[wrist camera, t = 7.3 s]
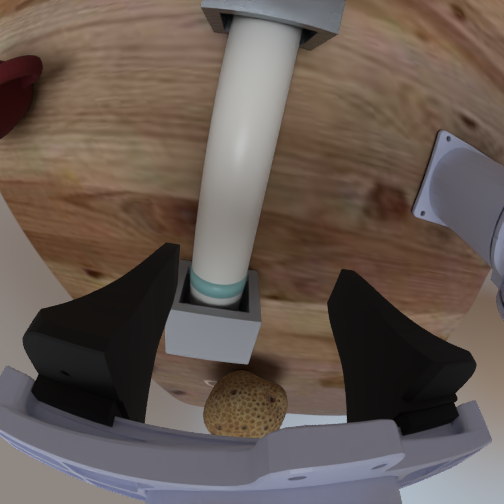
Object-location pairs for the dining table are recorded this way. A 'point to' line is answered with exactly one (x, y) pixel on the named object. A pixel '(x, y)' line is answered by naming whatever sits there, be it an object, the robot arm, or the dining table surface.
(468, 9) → the dining table surface
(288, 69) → the tube
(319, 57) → the dining table surface
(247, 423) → the natural sponge
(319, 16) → the grey stone block
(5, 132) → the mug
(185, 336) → the socket
